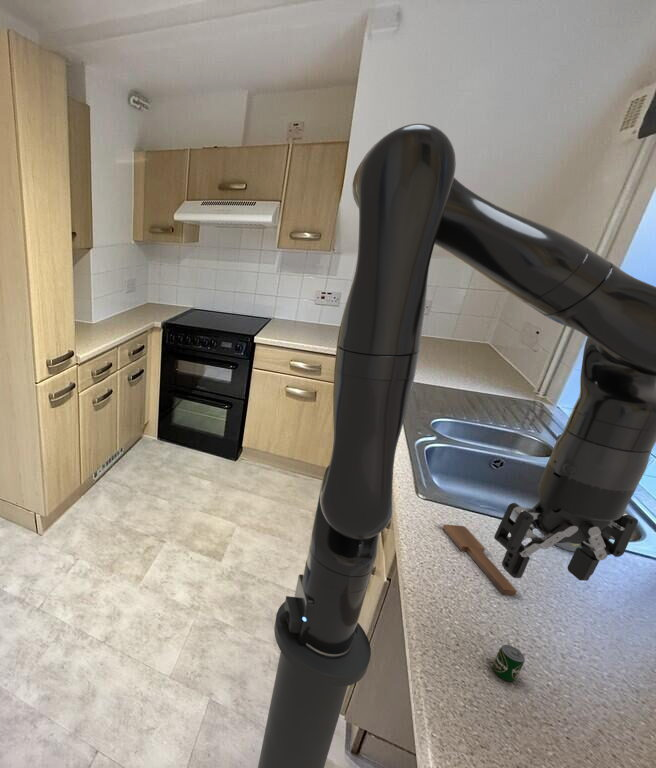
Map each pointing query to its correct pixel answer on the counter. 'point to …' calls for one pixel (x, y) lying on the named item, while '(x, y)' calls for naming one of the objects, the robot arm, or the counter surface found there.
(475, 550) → the spatula
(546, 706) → the counter surface
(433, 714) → the counter surface
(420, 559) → the counter surface
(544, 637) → the counter surface
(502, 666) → the beer can
